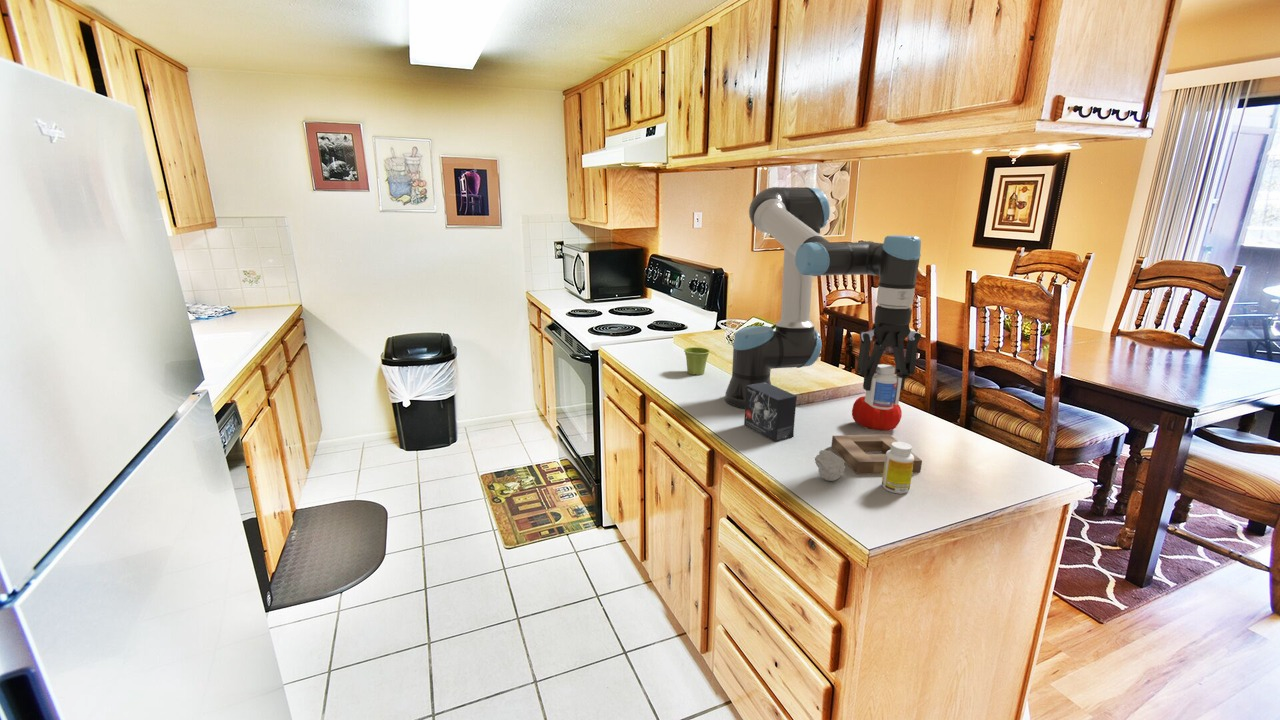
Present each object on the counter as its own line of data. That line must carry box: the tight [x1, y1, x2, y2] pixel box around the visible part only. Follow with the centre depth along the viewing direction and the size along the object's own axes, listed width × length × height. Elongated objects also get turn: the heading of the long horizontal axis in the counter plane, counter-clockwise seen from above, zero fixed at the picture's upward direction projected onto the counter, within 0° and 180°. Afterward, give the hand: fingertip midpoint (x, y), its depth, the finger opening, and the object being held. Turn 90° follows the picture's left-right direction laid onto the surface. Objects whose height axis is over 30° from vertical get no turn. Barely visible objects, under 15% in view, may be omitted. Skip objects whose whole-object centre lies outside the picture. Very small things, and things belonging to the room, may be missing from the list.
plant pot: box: [683, 346, 711, 376], centre depth 200 cm, size 9×9×9 cm
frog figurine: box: [814, 449, 846, 482], centre depth 122 cm, size 6×7×7 cm
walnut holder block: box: [830, 434, 923, 475], centre depth 133 cm, size 15×15×3 cm
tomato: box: [851, 395, 903, 432], centre depth 152 cm, size 13×12×8 cm
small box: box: [743, 382, 798, 443], centre depth 148 cm, size 13×7×12 cm, turn 28°
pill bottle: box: [870, 363, 897, 410], centre depth 128 cm, size 6×5×10 cm
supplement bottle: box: [881, 441, 914, 495], centre depth 118 cm, size 6×6×10 cm
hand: (881, 402), depth 129 cm, fingers closed on pill bottle, 5 cm apart
